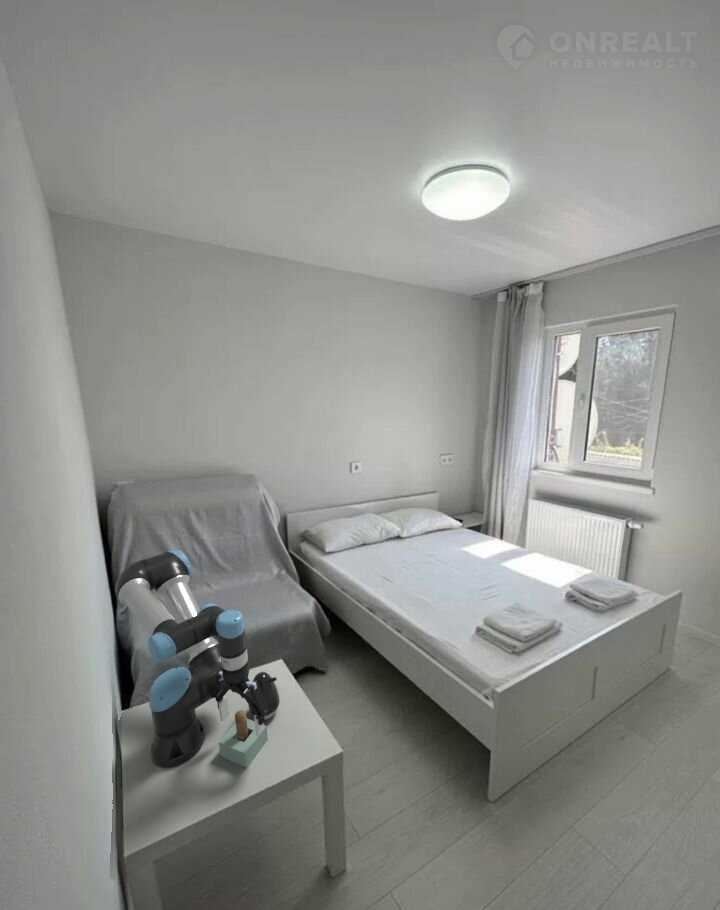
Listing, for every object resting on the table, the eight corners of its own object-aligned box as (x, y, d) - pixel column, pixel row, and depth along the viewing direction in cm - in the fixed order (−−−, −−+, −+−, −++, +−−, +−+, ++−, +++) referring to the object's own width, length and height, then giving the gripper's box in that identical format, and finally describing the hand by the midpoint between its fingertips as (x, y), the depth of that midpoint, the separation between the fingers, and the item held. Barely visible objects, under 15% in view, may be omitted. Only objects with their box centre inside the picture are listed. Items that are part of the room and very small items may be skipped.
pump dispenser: (273, 728, 129) (269, 687, 126) (244, 723, 131) (239, 683, 128) (285, 703, 138) (282, 664, 136) (258, 699, 141) (254, 661, 138)
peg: (243, 742, 124) (239, 708, 122) (251, 745, 123) (248, 712, 121) (236, 750, 121) (232, 717, 119) (244, 754, 120) (240, 720, 118)
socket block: (220, 756, 120) (218, 742, 119) (242, 729, 129) (241, 716, 128) (246, 768, 116) (245, 753, 115) (267, 739, 125) (266, 725, 124)
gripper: (193, 660, 118) (201, 721, 122) (261, 683, 108) (268, 749, 112) (212, 645, 125) (219, 703, 129) (277, 665, 115) (283, 727, 119)
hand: (242, 724), depth 121 cm, fingers open, 13 cm apart
